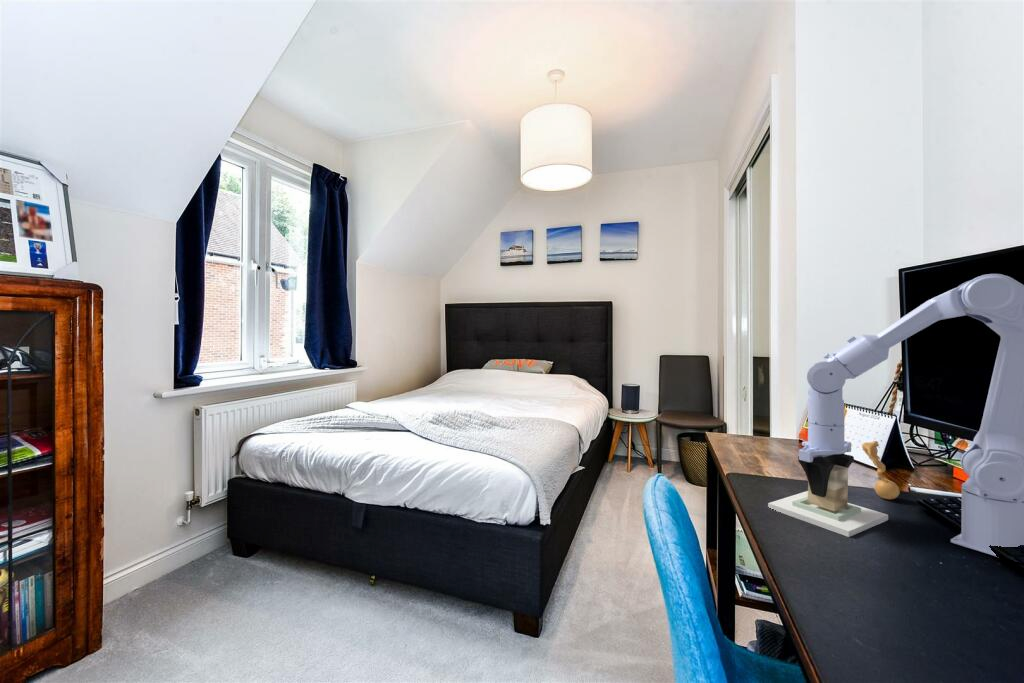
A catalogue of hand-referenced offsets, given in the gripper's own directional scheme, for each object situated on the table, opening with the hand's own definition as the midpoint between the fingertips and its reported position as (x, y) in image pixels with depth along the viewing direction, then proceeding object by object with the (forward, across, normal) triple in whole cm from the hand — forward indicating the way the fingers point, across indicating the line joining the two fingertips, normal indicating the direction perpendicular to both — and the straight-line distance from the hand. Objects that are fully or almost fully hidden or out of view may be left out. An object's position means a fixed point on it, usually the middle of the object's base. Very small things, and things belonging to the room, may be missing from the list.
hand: (825, 492), depth 83 cm
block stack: (+2, 0, 0) cm, 2 cm away
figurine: (+4, -19, +1) cm, 20 cm away
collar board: (+4, 0, 0) cm, 4 cm away
